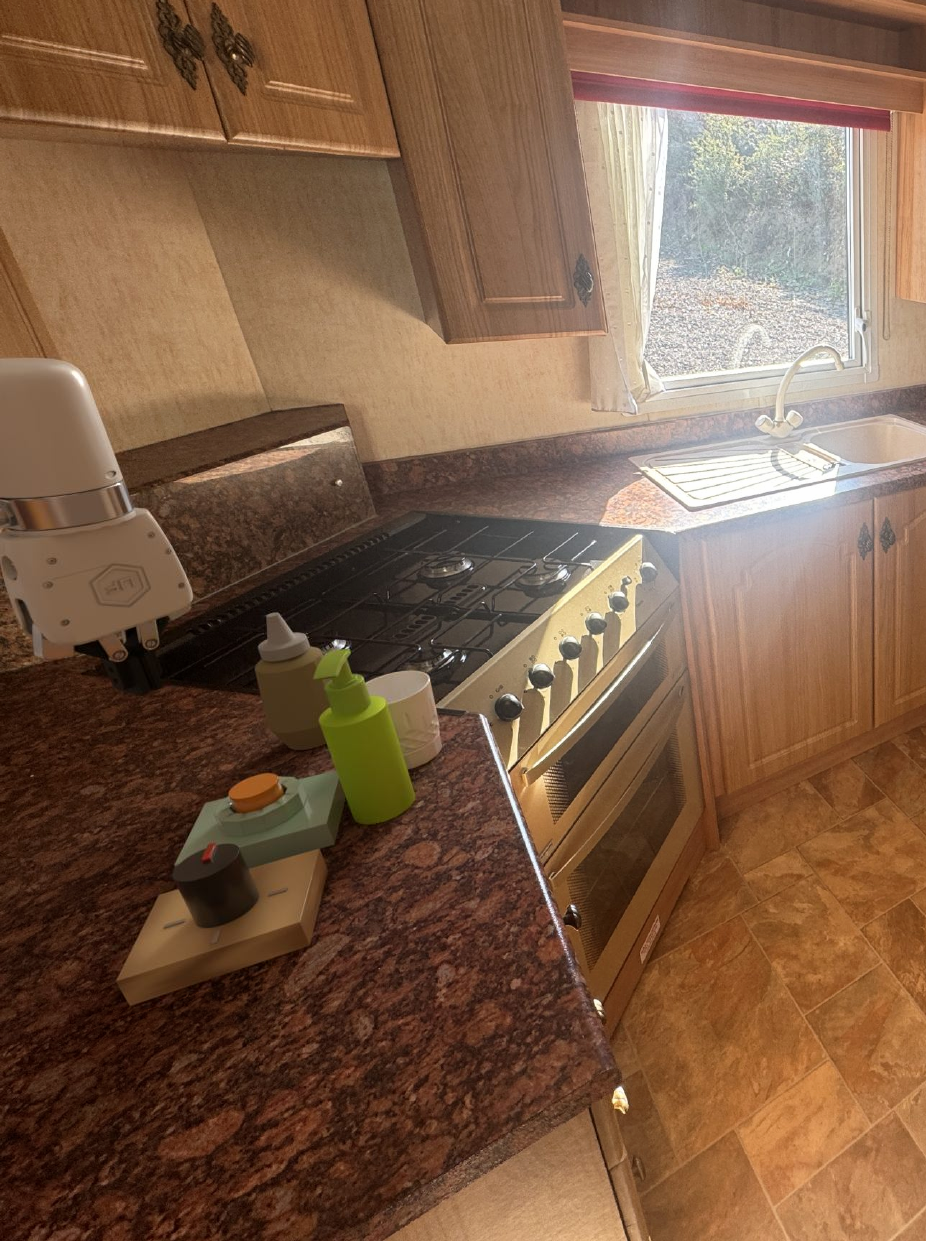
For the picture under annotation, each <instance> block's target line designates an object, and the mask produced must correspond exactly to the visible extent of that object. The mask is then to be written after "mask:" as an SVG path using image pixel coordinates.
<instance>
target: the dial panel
mask: <svg viewBox="0 0 926 1241" xmlns="http://www.w3.org/2000/svg"><path fill="white" fill-rule="evenodd" d="M328 869H329V868H328V867H327V864H326V862H325V859H324V856H323V854H322V851H321V849H316V850H313V851H309V852H306V853H302V854H299V855H295V856H292V857H288V858H285V859H281V860H278V861H274V862H271V863H268V864H264V865H261V866H257V867H254V868H250V869H249V871H250V874H251V876H252V878H253V881H254V883H255V885H256V887H257V890H258V892H259V898H258V900H257V902H256V903H255V905H254V906H253V907H252V908H251V909H250V910H248V911H247V912H246V913H245V914H243V915H242V916H240V917H238V918H237V919H235V920H233V921H231V922H228V923H226V924H223V925H220V926H216V927H211V928H202V927H199V926H197V925H196V924H195V922H194V920H193V918H192V916H191V914H190V912H189V910H188V908H187V906H186V904H185V902H184V899H183V897H182V895H181V893H180V891H179V889H178V888H177V889H174V890H170V891H167V892H164V893H161V894H158V896H157V898H156V900H155V902H154V904H153V906H152V908H151V910H150V912H149V914H148V916H147V918H146V920H145V922H144V924H143V926H142V928H141V930H140V932H139V934H138V936H137V938H136V940H135V942H134V944H133V946H132V948H131V950H130V952H129V954H128V956H127V957H126V960H125V962H124V964H123V966H122V968H121V970H120V972H119V973H118V976H117V978H116V979H115V983H116V984H117V986H118V989H120V990H119V991H121V993H122V995H123V996H124V998H125V1000H126V1001H127V1004H128V1005H129V1007H131V1006H134V1005H135V1006H136V1005H138V1004H140V1003H143V1002H146V1001H150V1000H153V999H155V998H158V997H161V996H164V995H167V994H170V993H174V992H177V991H179V990H182V989H185V988H189V987H192V986H194V985H197V984H200V983H204V982H206V981H209V980H212V979H215V978H218V977H221V976H225V975H227V974H230V973H233V972H235V971H239V970H242V969H245V968H247V967H250V966H254V965H257V964H259V963H263V962H265V961H269V960H271V959H274V958H278V957H281V956H283V955H286V954H289V953H291V952H295V951H298V950H301V949H304V948H307V947H310V945H311V941H312V937H313V933H314V929H315V925H316V922H317V917H318V915H319V914H318V913H319V910H320V905H321V901H322V897H323V892H324V890H325V885H326V881H327V876H328V874H329V873H328V872H329V870H328Z"/></svg>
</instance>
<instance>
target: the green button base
mask: <svg viewBox="0 0 926 1241" xmlns="http://www.w3.org/2000/svg"><path fill="white" fill-rule="evenodd" d="M278 778H279V780H280V783H281V785H282V788H283V791H284V795H283V796H282V797H281V798H280V799H279V800H278V801H276V802H275V803H273V804H271V805H269V806H267V807H264V808H262V809H260V810H256V811H253V812H249V813H237V812H236V811H235V809H234V807H233V805H232V802H231V800H230V798H229V795H228V796H226V797H224V798H223V797H222V798H219V799H215V800H212V801H207V802H204V804H203V807H202V809H201V810H200V812H199V815H198V816H197V819H196V820H195V822H194V824H193V827H192V828H191V831H190V833H189V835H188V836H187V838H186V840H185V843H184V844H183V847H182V849H181V851H180V853H179V855H178V857H177V858H176V861H175V862H174V864H173V866H174V869H175V868H176V867H177V866H178V865H179V864H180V863H181V862H182V861H183V860H185V859H186V858H188V857H189V856H191V855H192V854H194V853H196V852H198V851H200V850H203V849H205V848H207V845H208V844H212V843H216V845H219V844H227V843H229V844H235V845H237V846H238V847H239V849H240V851H241V853H242V855H243V858H244V860H245V862H246V865H247V867H248V869H250V868H254V867H257V866H261V865H264V864H268V863H271V862H274V861H278V860H281V859H285V858H288V857H292V856H295V855H299V854H302V853H306V852H309V851H313V850H316V849H320V850H321V849H324V848H328V847H332V846H335V845H336V840H337V835H338V832H339V827H340V824H341V819H342V815H343V812H344V807H345V804H344V803H346V800H345V798H346V796H345V793H344V790H343V788H342V785H341V782H340V779H339V776H338V774H337V771H336V769H335V770H331V771H327V772H323V773H320V774H315V775H311V776H307V777H303V778H300V779H299V778H298V779H297V778H296V777H295V776H278Z"/></svg>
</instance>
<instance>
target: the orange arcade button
mask: <svg viewBox="0 0 926 1241" xmlns="http://www.w3.org/2000/svg"><path fill="white" fill-rule="evenodd" d="M278 777H279V776H278V775H277V774H276V773H270V772H266V773H260V774H257V775H253V776H250V777H247V778H245V779H242V780H241V781H239V782H238V783H236V784H235V785H234V786H232V787H231V788H230V790H229V791H228V793H227V794H228V796H229V798H230V800H231V802H232V805H233V807H234V809H235V811H236V812H237V813H249V812H253V811H256V810H260V809H262V808H264V807H267V806H269V805H271V804H273V803H275V802H276V801H278V800H279V799H280V798H281V797H282V796H283V795H284V791H283V788H282V785H281V783H280V780H279V778H278Z"/></svg>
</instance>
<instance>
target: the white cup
mask: <svg viewBox="0 0 926 1241" xmlns="http://www.w3.org/2000/svg"><path fill="white" fill-rule="evenodd" d="M365 684H366V687H367V690H368V693H369V695H375V696H381V697H383V698H384V699H385V700H386V702H387V706H388V709H389V712H390V715H391V719H392V722H393V725H394V728H395V731H396V735H397V738H398V741H399V744H400V747H401V751H402V754H403V757H404V760H405V764H406V767H407V770H412V769H415V768H418V767H420V766H422V765H425V764H427V763H428V762H429V761H431V760H433V759H435V758H436V757H437V756H438V755H439V753H440V752H441V751H442V750H443V742H442V738H441V732H440V728H441V727H440V723H439V715H438V711H437V710H438V709H437V707H436V702H435V697H434V691H433V687H432V682H431V677H430V675H429V674H427V673H426V672H424V671H419V670H400V671H396V672H390V673H387V674H383V675H380V676H377V677H374V678H372V679H371V680H368V681H366V682H365Z"/></svg>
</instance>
